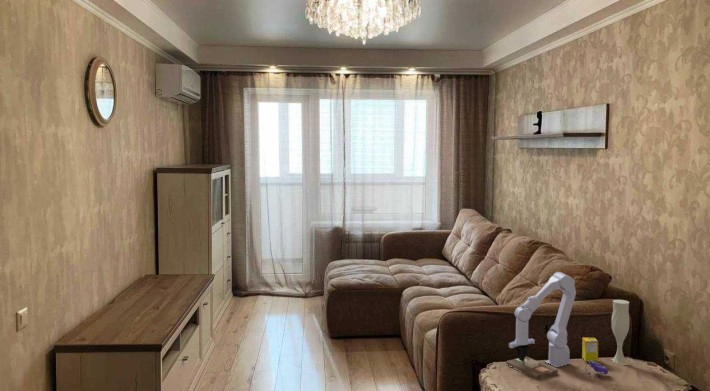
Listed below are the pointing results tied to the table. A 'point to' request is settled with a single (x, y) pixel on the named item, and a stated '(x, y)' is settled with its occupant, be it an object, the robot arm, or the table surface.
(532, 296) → the robot arm
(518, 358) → the sage button
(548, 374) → the button panel
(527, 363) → the cream button
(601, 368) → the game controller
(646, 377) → the table surface
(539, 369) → the terracotta button
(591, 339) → the supplement box
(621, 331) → the vase
